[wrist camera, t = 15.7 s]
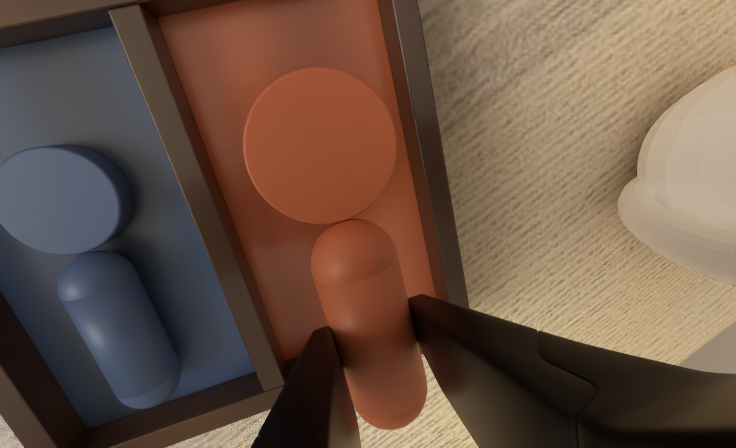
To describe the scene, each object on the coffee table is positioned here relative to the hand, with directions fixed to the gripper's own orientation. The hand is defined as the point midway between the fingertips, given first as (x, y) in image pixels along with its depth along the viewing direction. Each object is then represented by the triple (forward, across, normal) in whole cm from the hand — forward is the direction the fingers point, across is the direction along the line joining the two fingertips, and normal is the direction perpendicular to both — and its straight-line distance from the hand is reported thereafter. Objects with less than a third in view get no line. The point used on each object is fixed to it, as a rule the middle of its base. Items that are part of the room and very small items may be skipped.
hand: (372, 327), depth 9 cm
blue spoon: (+5, +7, -2) cm, 9 cm away
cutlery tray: (+6, +4, -3) cm, 7 cm away
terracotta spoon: (+1, 0, -2) cm, 2 cm away
